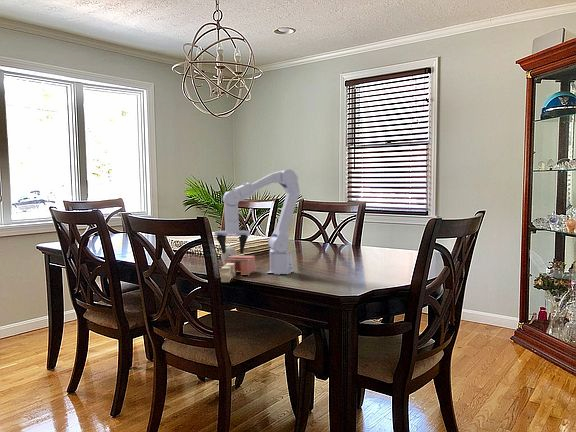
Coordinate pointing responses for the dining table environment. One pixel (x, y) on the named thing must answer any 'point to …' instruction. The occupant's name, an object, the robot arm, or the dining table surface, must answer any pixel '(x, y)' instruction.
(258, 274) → the dining table surface
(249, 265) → the dispenser
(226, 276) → the cream block
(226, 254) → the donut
